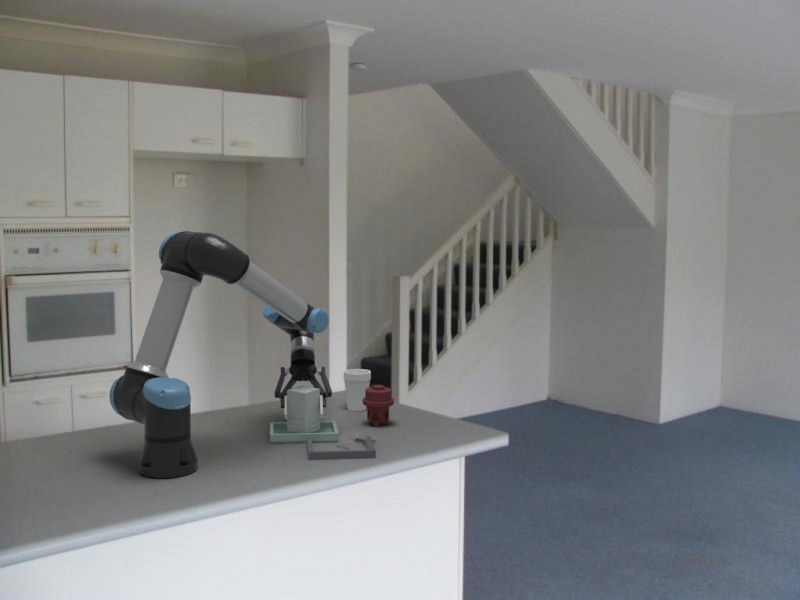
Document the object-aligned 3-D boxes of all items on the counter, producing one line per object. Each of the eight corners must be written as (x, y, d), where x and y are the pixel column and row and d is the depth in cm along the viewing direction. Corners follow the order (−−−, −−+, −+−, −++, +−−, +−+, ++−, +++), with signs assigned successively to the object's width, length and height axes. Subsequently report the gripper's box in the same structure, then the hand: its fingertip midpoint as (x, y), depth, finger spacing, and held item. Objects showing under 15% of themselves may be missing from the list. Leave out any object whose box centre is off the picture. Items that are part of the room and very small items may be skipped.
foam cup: (340, 411, 280) (340, 373, 278) (346, 404, 289) (346, 368, 287) (367, 412, 278) (368, 374, 277) (373, 406, 287) (373, 369, 286)
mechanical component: (396, 421, 269) (390, 429, 259) (366, 418, 271) (359, 426, 261) (397, 383, 267) (390, 390, 257) (367, 381, 269) (359, 388, 259)
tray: (269, 443, 241) (269, 435, 241) (270, 430, 255) (270, 422, 255) (338, 441, 244) (338, 433, 244) (335, 429, 258) (335, 420, 257)
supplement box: (320, 429, 250) (321, 388, 249) (305, 434, 244) (305, 392, 243) (301, 425, 254) (301, 385, 253) (286, 430, 248) (286, 389, 247)
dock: (308, 459, 227) (308, 452, 227) (307, 444, 241) (307, 437, 241) (375, 457, 230) (375, 450, 229) (369, 442, 244) (370, 436, 244)
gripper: (337, 360, 264) (340, 422, 250) (266, 361, 261) (265, 423, 247) (339, 347, 258) (342, 409, 244) (266, 347, 255) (265, 410, 241)
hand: (303, 416), depth 246 cm, fingers closed on supplement box, 10 cm apart
